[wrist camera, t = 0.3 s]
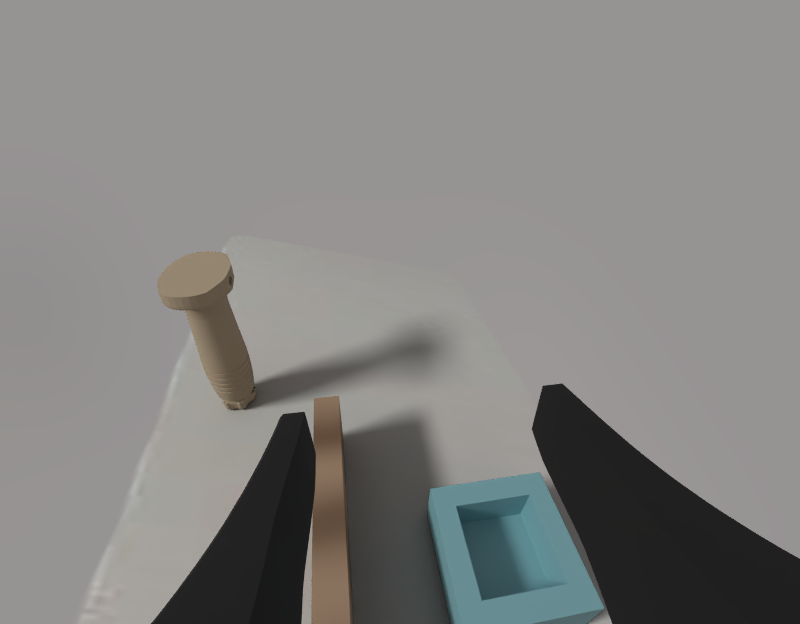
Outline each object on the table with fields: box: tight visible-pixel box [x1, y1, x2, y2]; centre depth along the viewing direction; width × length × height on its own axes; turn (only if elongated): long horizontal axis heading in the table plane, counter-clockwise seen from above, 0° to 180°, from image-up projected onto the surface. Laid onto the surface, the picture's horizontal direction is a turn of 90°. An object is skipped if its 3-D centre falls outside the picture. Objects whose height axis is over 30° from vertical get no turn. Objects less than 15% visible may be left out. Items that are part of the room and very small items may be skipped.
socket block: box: [427, 472, 604, 624], centre depth 27 cm, size 9×9×4 cm
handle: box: [157, 252, 256, 410], centre depth 34 cm, size 5×6×15 cm
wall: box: [312, 396, 354, 624], centre depth 26 cm, size 20×2×6 cm, turn 9°
